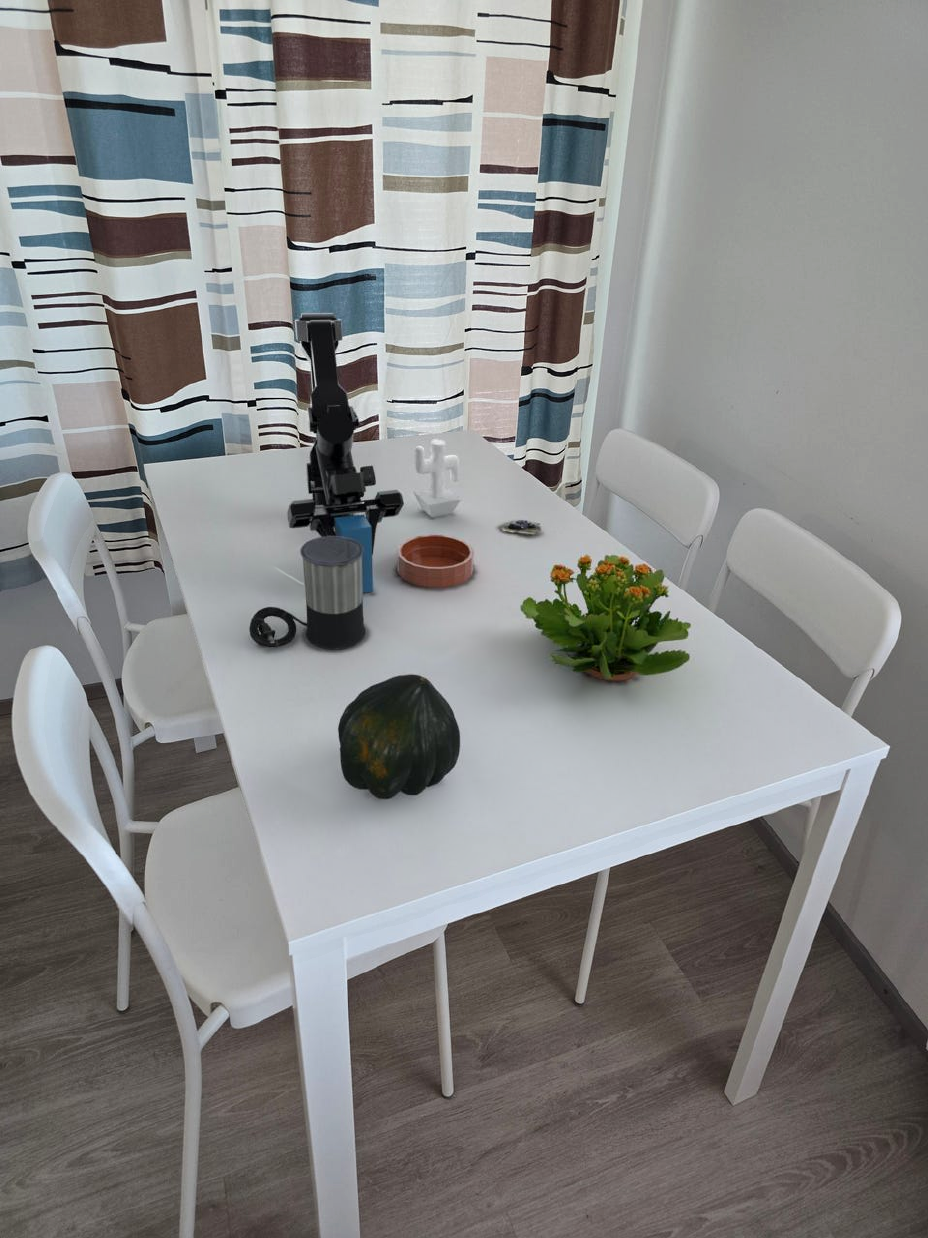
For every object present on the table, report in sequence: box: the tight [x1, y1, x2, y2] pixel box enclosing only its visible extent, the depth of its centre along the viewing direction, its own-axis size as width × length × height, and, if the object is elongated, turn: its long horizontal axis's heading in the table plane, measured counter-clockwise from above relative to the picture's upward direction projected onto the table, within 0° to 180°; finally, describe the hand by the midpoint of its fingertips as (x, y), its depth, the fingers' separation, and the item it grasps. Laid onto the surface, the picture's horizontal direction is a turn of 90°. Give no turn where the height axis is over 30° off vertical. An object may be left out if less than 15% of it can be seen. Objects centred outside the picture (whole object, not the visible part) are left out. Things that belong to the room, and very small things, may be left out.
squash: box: [337, 674, 461, 800], centre depth 102 cm, size 14×15×15 cm
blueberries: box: [500, 519, 542, 536], centre depth 167 cm, size 7×8×2 cm
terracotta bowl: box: [396, 534, 475, 589], centre depth 151 cm, size 13×13×4 cm
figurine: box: [412, 438, 462, 518], centre depth 170 cm, size 7×9×15 cm
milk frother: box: [248, 536, 367, 650], centre depth 128 cm, size 14×16×15 cm
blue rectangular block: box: [334, 514, 374, 594], centre depth 142 cm, size 5×5×12 cm
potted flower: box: [520, 554, 692, 682], centre depth 123 cm, size 25×24×18 cm
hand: (355, 557), depth 141 cm, fingers closed on blue rectangular block, 5 cm apart
